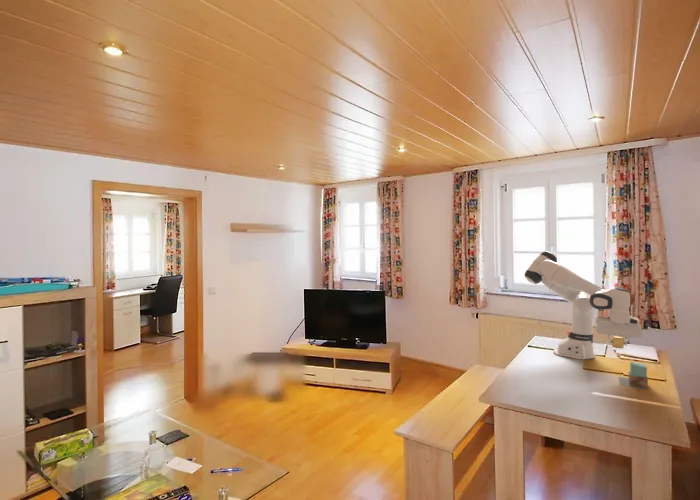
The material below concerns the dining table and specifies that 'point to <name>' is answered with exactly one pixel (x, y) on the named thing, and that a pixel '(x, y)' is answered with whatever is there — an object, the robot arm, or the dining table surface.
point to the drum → (618, 342)
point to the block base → (638, 381)
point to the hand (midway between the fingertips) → (617, 343)
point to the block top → (638, 369)
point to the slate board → (626, 383)
